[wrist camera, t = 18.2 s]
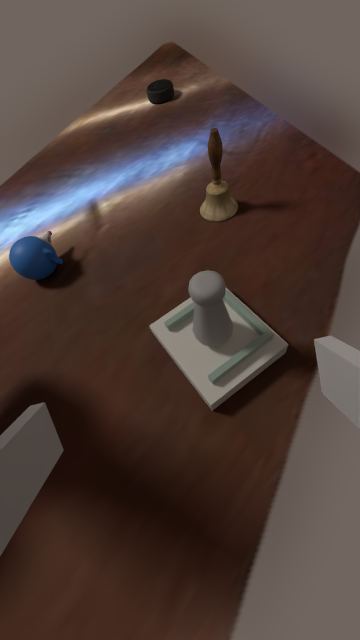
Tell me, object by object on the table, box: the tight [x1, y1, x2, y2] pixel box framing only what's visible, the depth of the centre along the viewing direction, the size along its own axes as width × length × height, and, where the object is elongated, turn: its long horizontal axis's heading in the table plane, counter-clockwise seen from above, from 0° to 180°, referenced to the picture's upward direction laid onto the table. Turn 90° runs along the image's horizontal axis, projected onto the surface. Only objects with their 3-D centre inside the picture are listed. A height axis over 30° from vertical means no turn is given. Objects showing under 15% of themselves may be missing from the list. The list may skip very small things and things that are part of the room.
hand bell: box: [200, 128, 238, 222], centre depth 55 cm, size 8×8×16 cm
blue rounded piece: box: [9, 231, 63, 280], centre depth 58 cm, size 12×12×8 cm
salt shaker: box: [188, 270, 233, 347], centre depth 37 cm, size 6×6×13 cm
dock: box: [150, 288, 288, 411], centre depth 43 cm, size 16×14×4 cm
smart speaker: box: [147, 79, 174, 104], centre depth 94 cm, size 9×9×4 cm
